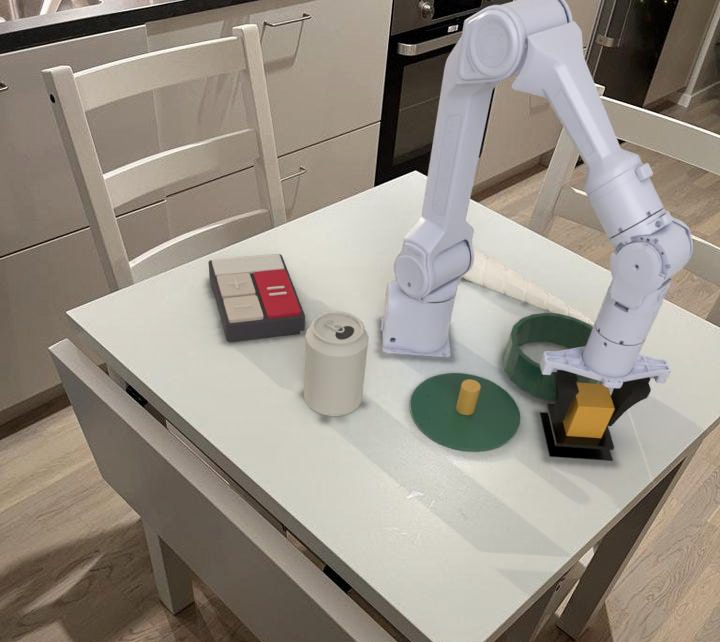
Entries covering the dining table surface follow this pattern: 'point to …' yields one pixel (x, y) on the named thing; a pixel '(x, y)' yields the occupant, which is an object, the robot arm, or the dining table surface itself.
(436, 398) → the tin lid
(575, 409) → the block
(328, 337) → the can
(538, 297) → the unicorn horn
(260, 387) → the dining table surface
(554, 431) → the stand
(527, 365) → the tin
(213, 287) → the calculator
